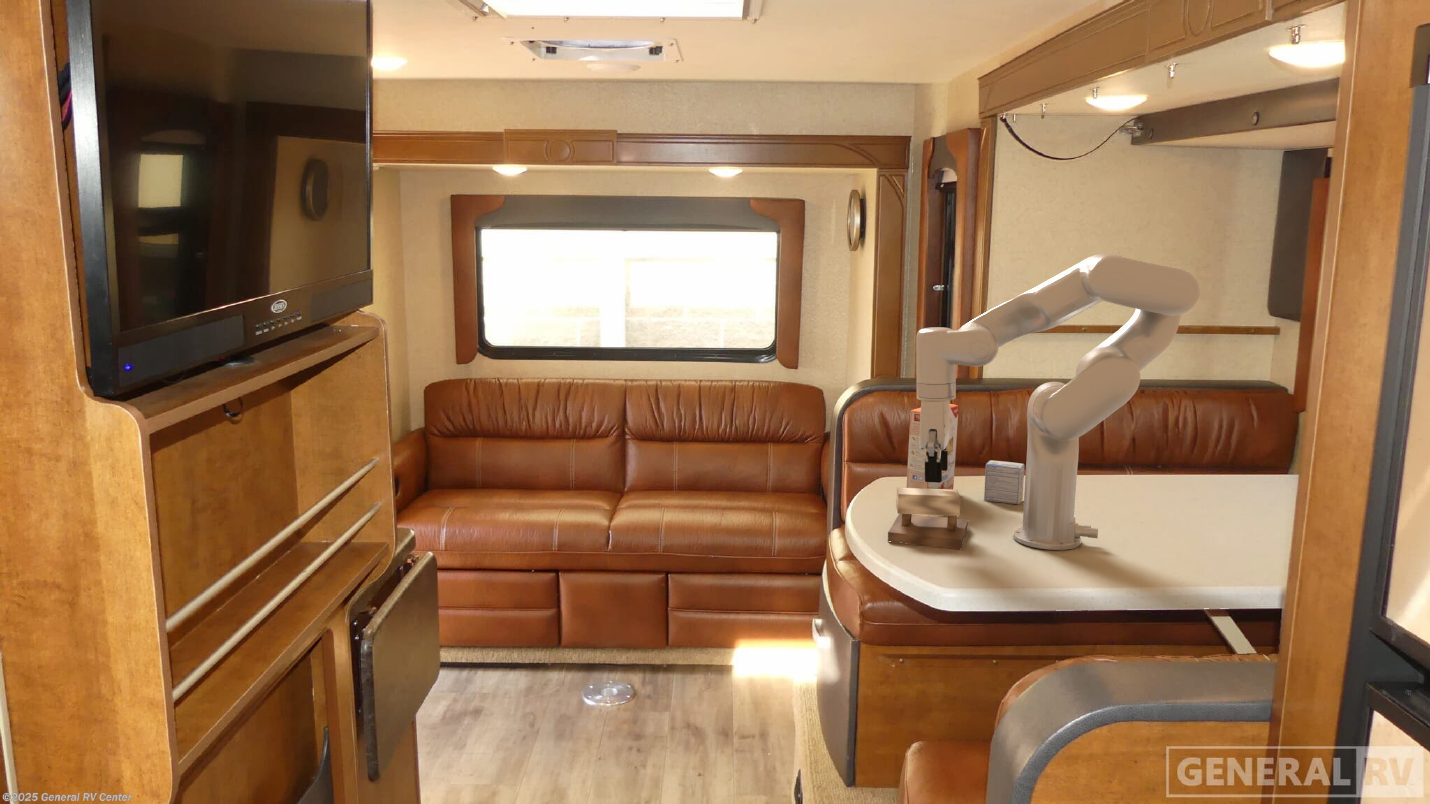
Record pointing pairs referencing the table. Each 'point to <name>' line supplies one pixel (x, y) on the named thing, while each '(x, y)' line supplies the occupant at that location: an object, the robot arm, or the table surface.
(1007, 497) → the medicine box
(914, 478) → the cracker box
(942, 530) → the peg board
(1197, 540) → the table surface
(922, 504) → the beige wooden block
